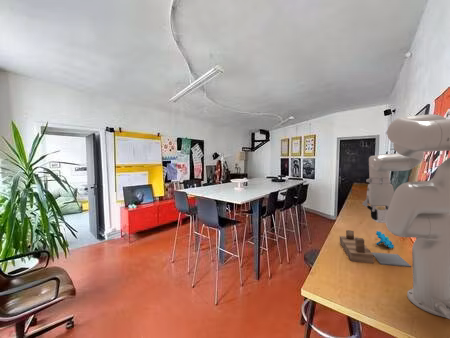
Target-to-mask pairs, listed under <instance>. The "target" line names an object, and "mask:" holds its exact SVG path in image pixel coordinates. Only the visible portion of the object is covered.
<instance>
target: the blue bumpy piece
mask: <svg viewBox="0 0 450 338" xmlns="http://www.w3.org/2000/svg"><path fill="white" fill-rule="evenodd" d="M375 235H377V238H378V239H379V240H380V241H378V242H376V243H375V244H376V245H377V246H379V245H380V244H382V243H383V245H384V246H385V247H388V248H389V249H392V248H393V249H394V248H395V247H394V246H395V245H394V244H393V241H391V240H390V238H389V236H388V235H387V236H386V234H385V233H382V232H381V231H378V230H377V231H376V233H375Z"/></svg>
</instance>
